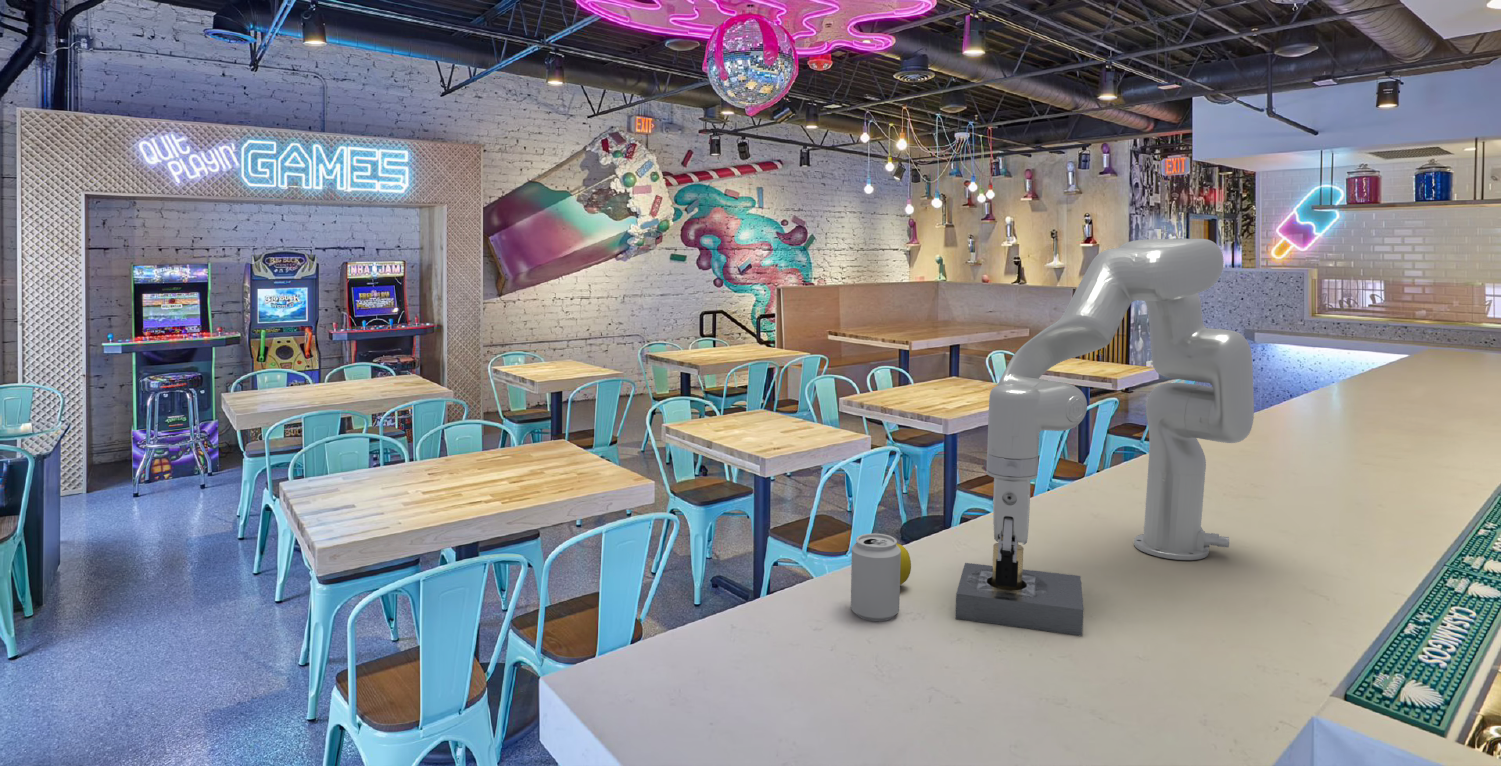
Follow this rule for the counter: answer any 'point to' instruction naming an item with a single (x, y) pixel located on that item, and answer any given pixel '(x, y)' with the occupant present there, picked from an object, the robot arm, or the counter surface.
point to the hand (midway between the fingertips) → (1007, 577)
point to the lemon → (904, 564)
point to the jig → (1022, 600)
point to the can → (875, 577)
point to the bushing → (1020, 568)
